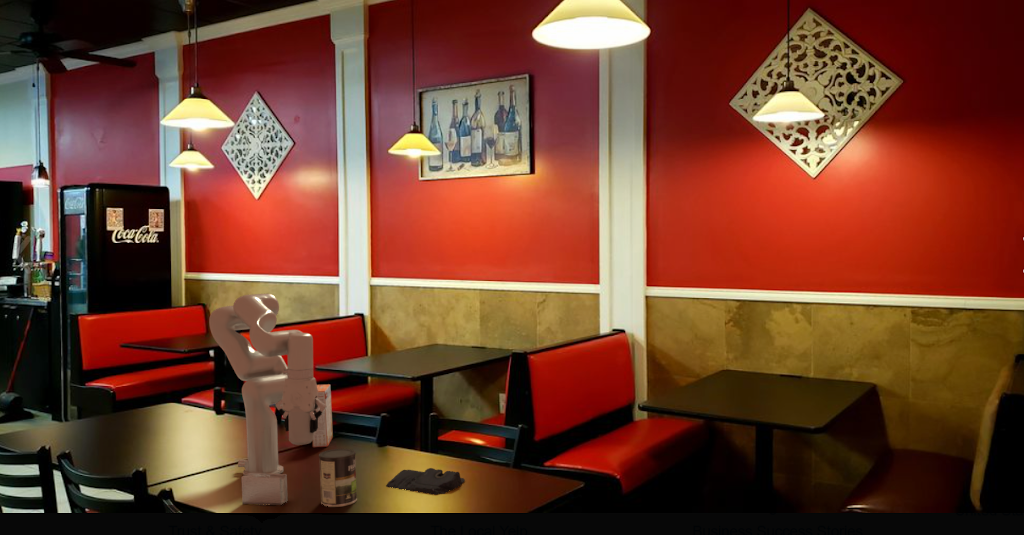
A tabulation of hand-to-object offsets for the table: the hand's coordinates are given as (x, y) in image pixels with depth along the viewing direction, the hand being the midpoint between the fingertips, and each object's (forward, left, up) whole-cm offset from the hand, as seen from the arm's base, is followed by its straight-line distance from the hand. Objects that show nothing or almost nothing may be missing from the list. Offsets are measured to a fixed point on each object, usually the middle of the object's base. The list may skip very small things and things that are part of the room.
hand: (301, 430), depth 243 cm
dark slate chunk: (+37, +7, -18) cm, 42 cm away
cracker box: (-18, +53, -18) cm, 58 cm away
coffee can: (+17, -11, -18) cm, 27 cm away
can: (0, 0, -4) cm, 4 cm away
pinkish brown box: (-4, -15, -17) cm, 24 cm away
